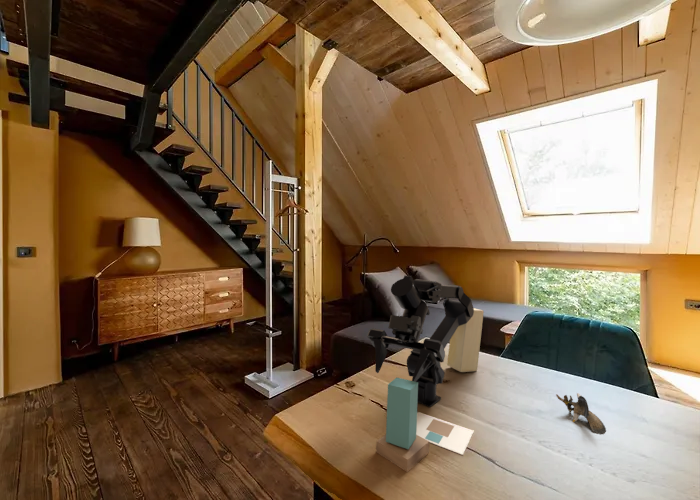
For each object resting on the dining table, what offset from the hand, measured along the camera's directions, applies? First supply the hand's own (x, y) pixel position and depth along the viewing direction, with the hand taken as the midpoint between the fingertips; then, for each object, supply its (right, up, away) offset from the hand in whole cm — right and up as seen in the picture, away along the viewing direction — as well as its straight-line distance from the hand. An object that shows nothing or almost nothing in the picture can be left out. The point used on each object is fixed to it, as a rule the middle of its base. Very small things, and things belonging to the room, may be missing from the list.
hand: (394, 377), depth 74 cm
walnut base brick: (+1, -14, -6) cm, 16 cm away
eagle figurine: (+48, -14, +6) cm, 51 cm away
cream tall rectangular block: (+29, -12, +37) cm, 48 cm away
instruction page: (+11, -14, +2) cm, 17 cm away
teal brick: (+1, -11, -6) cm, 13 cm away
